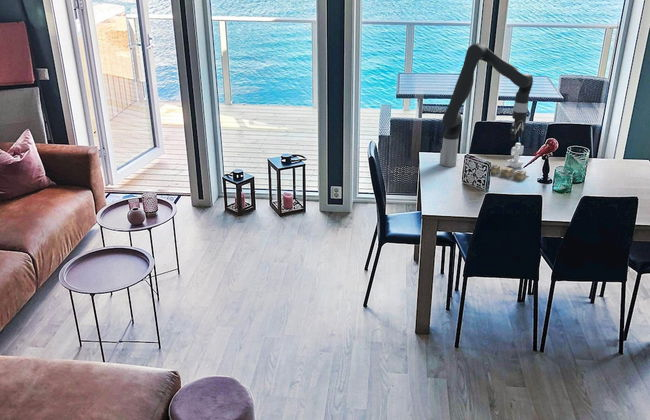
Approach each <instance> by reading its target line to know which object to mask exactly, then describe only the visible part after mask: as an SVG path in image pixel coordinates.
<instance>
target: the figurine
mask: <svg viewBox="0 0 650 420" xmlns="http://www.w3.org/2000/svg"><path fill="white" fill-rule="evenodd" d="M524 148H525V146H524V145H522V144H521V143H520V142H516V143H515V145H514V146H513V147H511V150H510V155H511V156H513V158H512V159H507V163H508V164H509V166H510V167H511V168H513V169H514V168H515V169H517V168H521V167H522V166H523V165H524V163H525V162H524V161H522V160H521V159H520V156H521V155H523V153H524Z"/></svg>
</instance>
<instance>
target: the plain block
mask: <svg viewBox="0 0 650 420" xmlns="http://www.w3.org/2000/svg"><path fill="white" fill-rule="evenodd" d="M500 170H501V176H505V177H510V176H511V175H512V173H514V172H513V171H514V167H508V166H504V167H502V168H500Z"/></svg>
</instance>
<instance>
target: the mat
mask: <svg viewBox="0 0 650 420" xmlns="http://www.w3.org/2000/svg"><path fill="white" fill-rule="evenodd" d="M490 177H494V178H498V179H503V180H506V181H511V182H515V183H521V182H523V181H524V180H526V179H527V178H529V177H530V176H529V175H526V177H525V179H523V180H518V179H514V172H513V173H512V175H511V176H510V177H505V176H501V169H500V172H499V173H497V174H493V173H491V176H490Z"/></svg>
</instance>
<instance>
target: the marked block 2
mask: <svg viewBox="0 0 650 420" xmlns="http://www.w3.org/2000/svg"><path fill="white" fill-rule="evenodd" d="M513 173H514V179H518V180H523V179H524V180H526V179H525V177H526V176H527V171H525V170H521V169H517V170H515V171H514V172H513ZM524 180H523V181H524Z"/></svg>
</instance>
